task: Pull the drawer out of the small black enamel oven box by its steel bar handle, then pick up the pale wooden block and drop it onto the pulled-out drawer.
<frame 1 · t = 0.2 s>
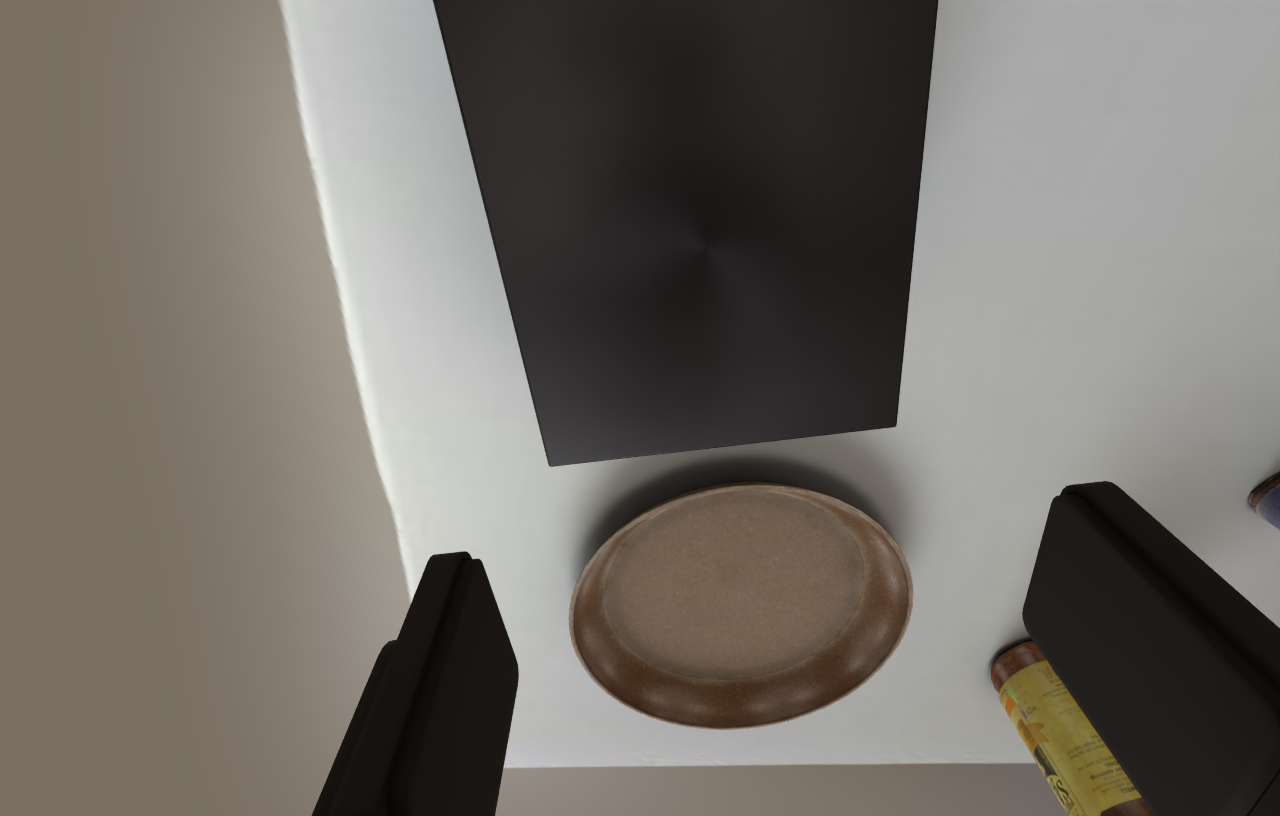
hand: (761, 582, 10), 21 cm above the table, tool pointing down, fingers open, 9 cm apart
sauce bottle: (1029, 661, 44), on the table
oven box: (681, 188, 27), on the table
plant saucer: (732, 583, 40), on the table
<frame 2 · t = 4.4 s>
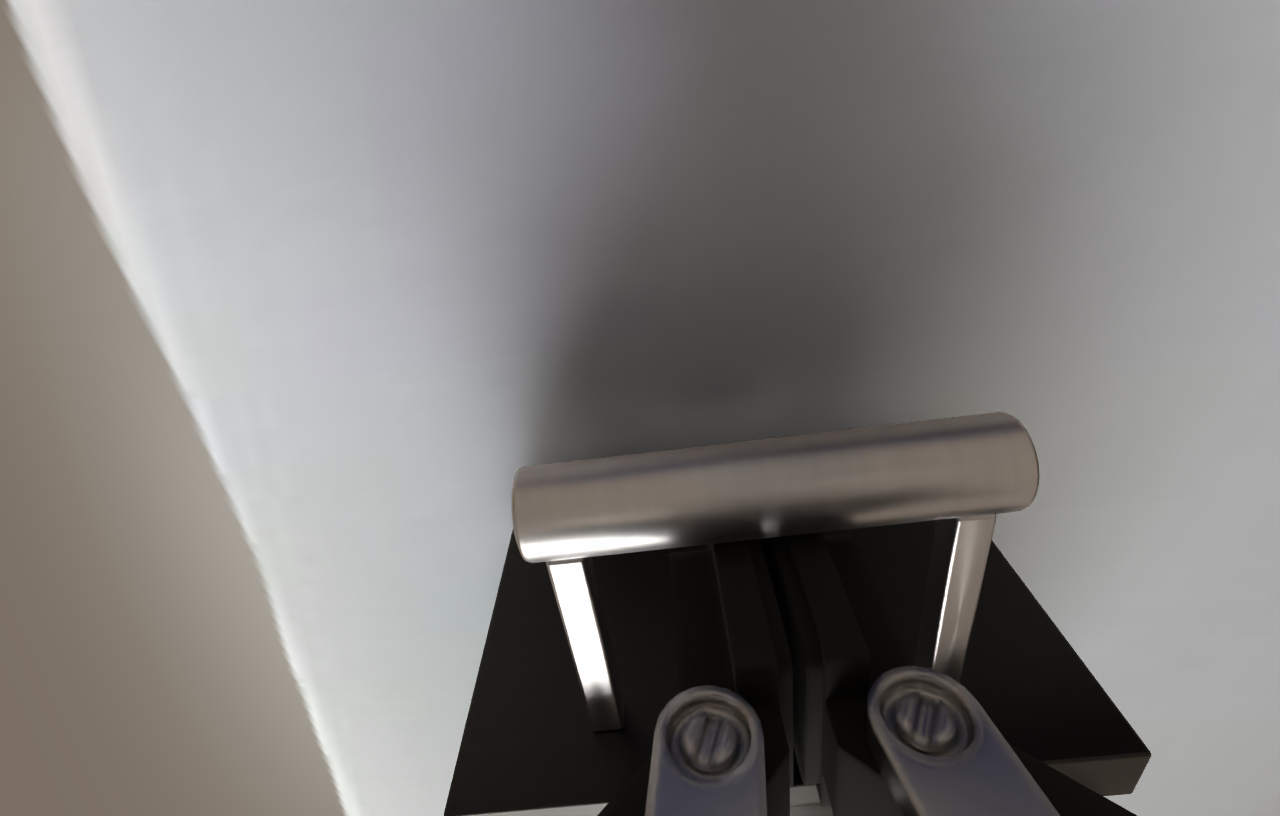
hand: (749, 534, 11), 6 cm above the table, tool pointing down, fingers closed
drawer: (753, 708, 15), point 5 cm above the table, slide at 2.0 cm
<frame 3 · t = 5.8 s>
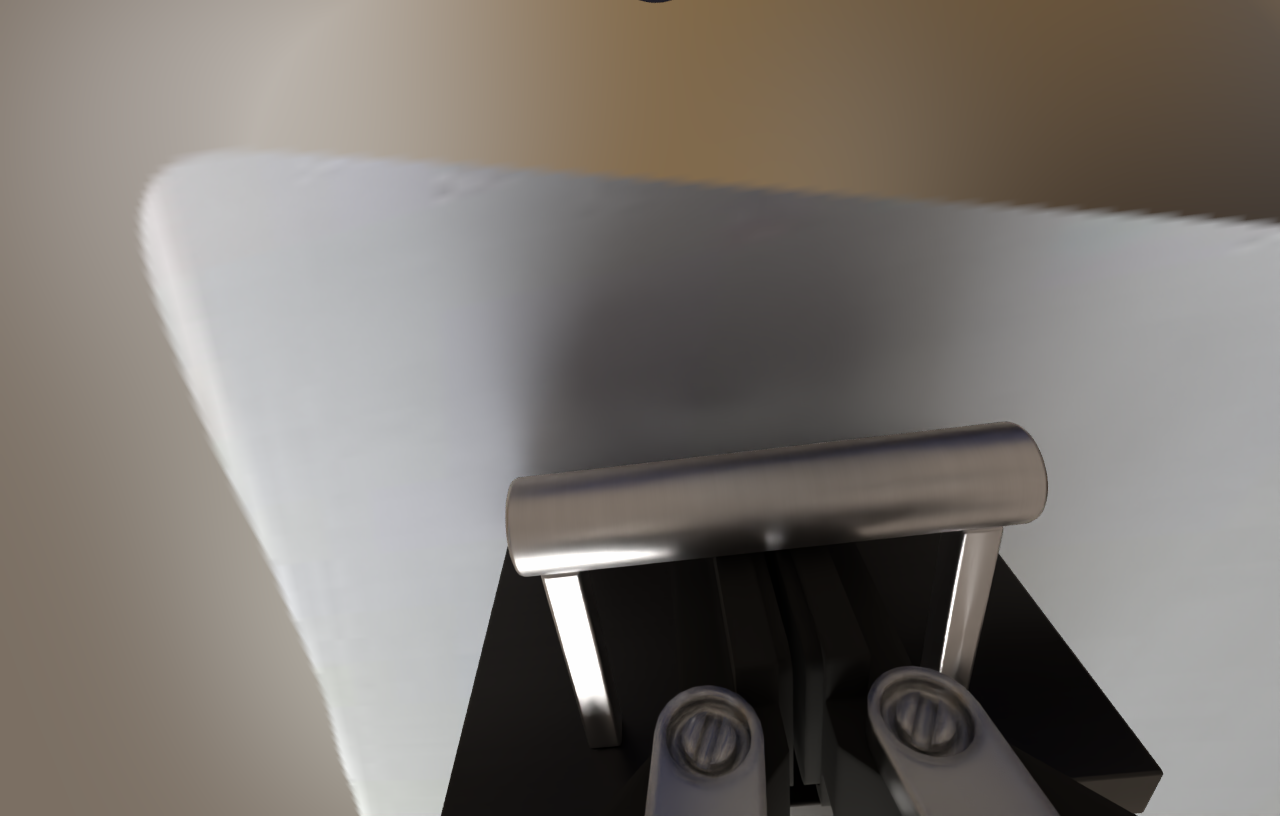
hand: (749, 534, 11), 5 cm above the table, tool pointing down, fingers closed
drawer: (753, 722, 15), point 5 cm above the table, slide at 7.7 cm, touching gripper
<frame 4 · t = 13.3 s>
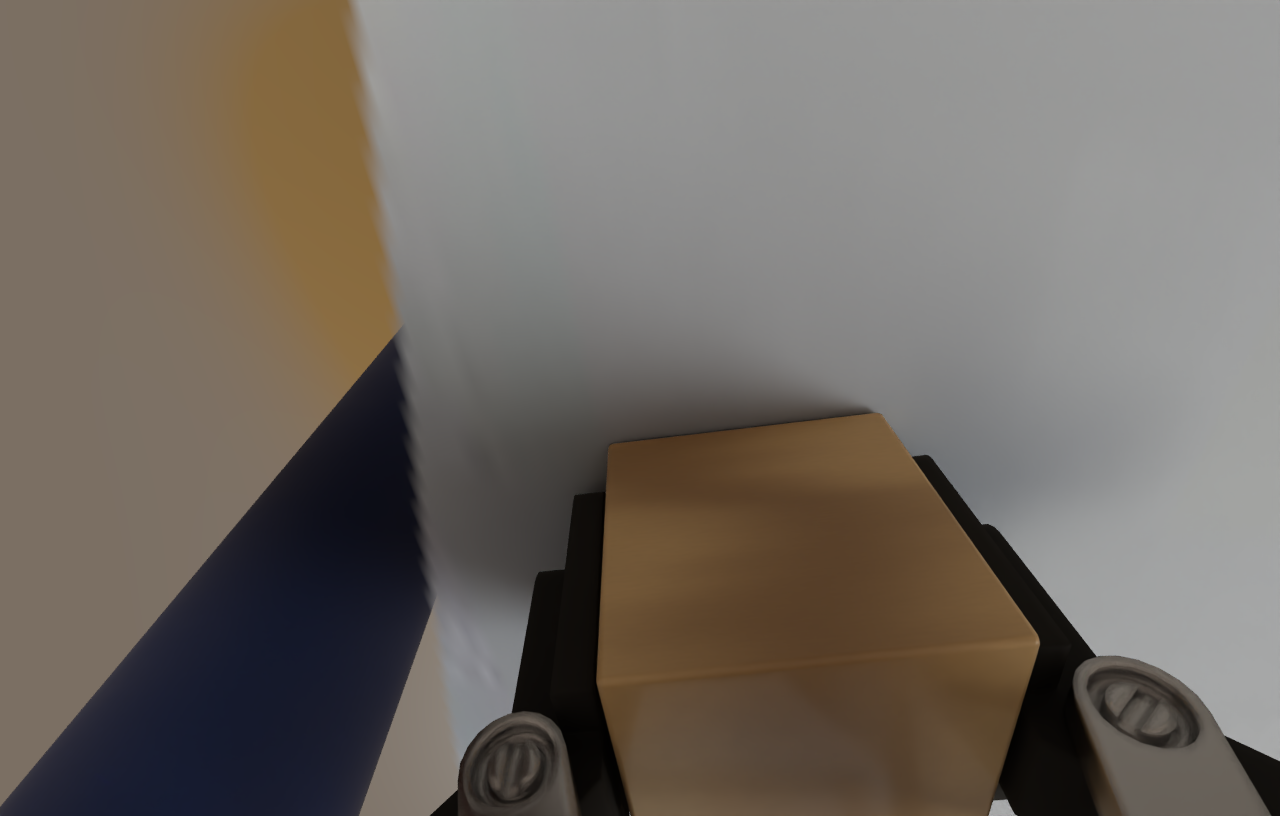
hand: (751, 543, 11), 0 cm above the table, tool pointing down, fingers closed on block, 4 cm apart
block: (748, 529, 11), on the table, touching gripper
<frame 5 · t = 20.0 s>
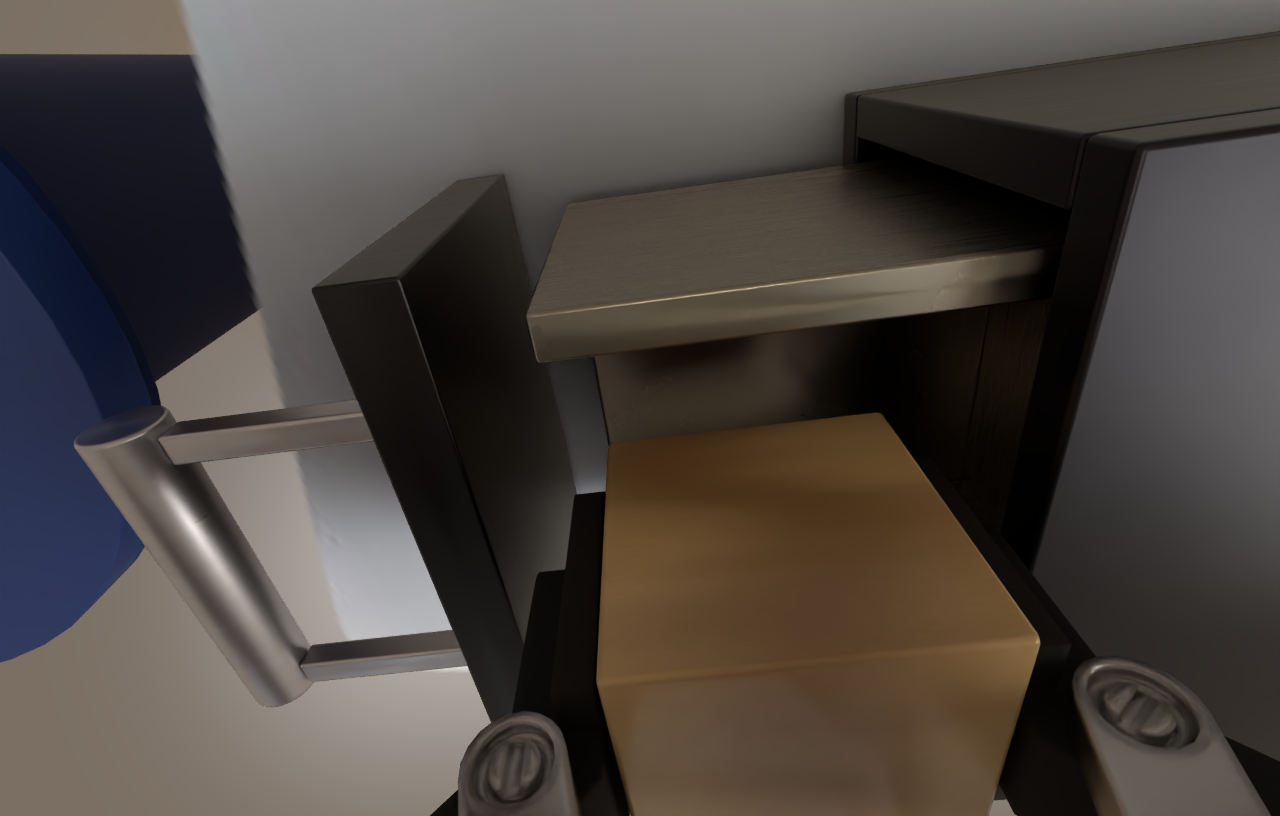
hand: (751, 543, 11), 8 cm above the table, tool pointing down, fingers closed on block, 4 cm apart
drawer: (652, 450, 14), point 5 cm above the table, slide at 8.4 cm
block: (748, 529, 11), point 8 cm above the table, touching gripper
oven box: (1092, 302, 18), on the table
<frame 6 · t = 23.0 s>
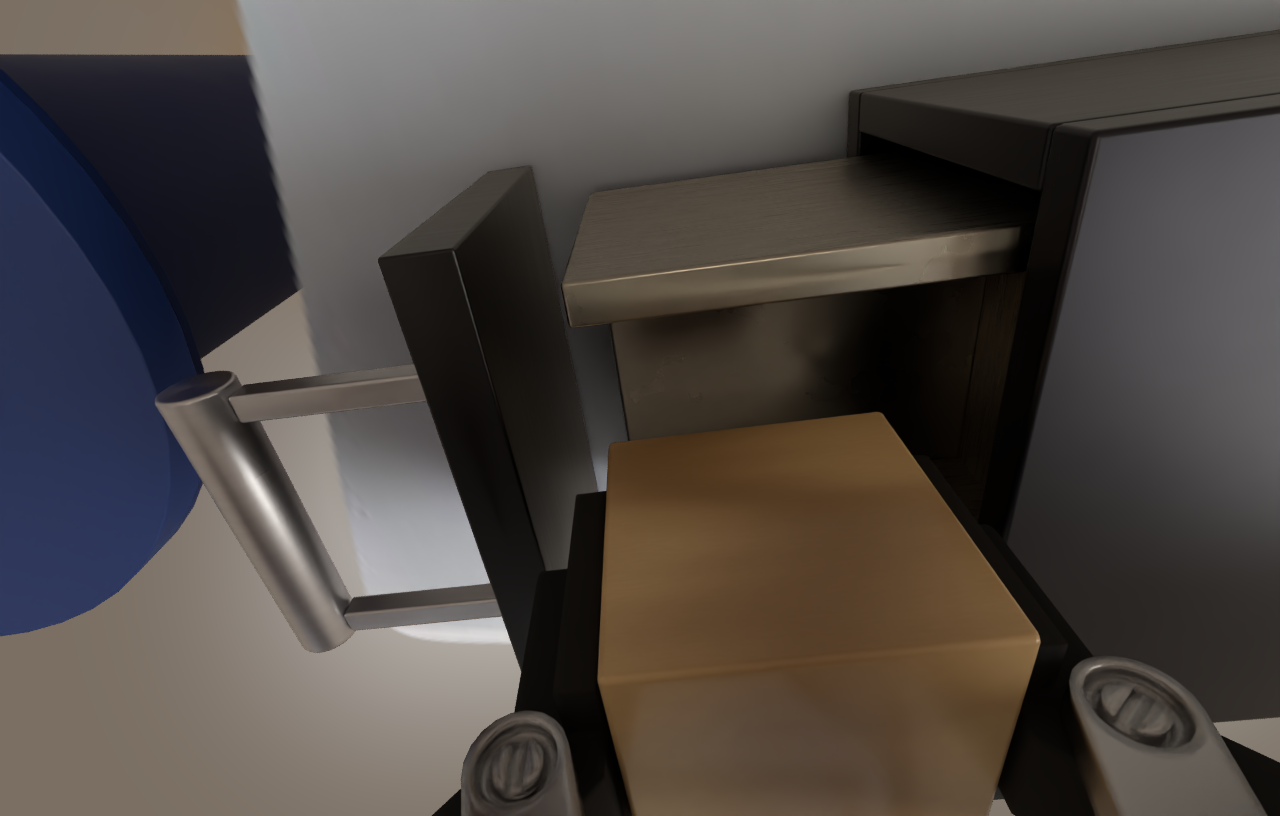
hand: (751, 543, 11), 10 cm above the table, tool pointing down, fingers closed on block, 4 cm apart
drawer: (667, 421, 15), point 5 cm above the table, slide at 8.4 cm
block: (748, 528, 11), point 9 cm above the table, touching gripper
oven box: (1084, 289, 19), on the table
when the fingers open (11 cm above the table, at t = 33.1 s): block drops 9 cm, resting on drawer.
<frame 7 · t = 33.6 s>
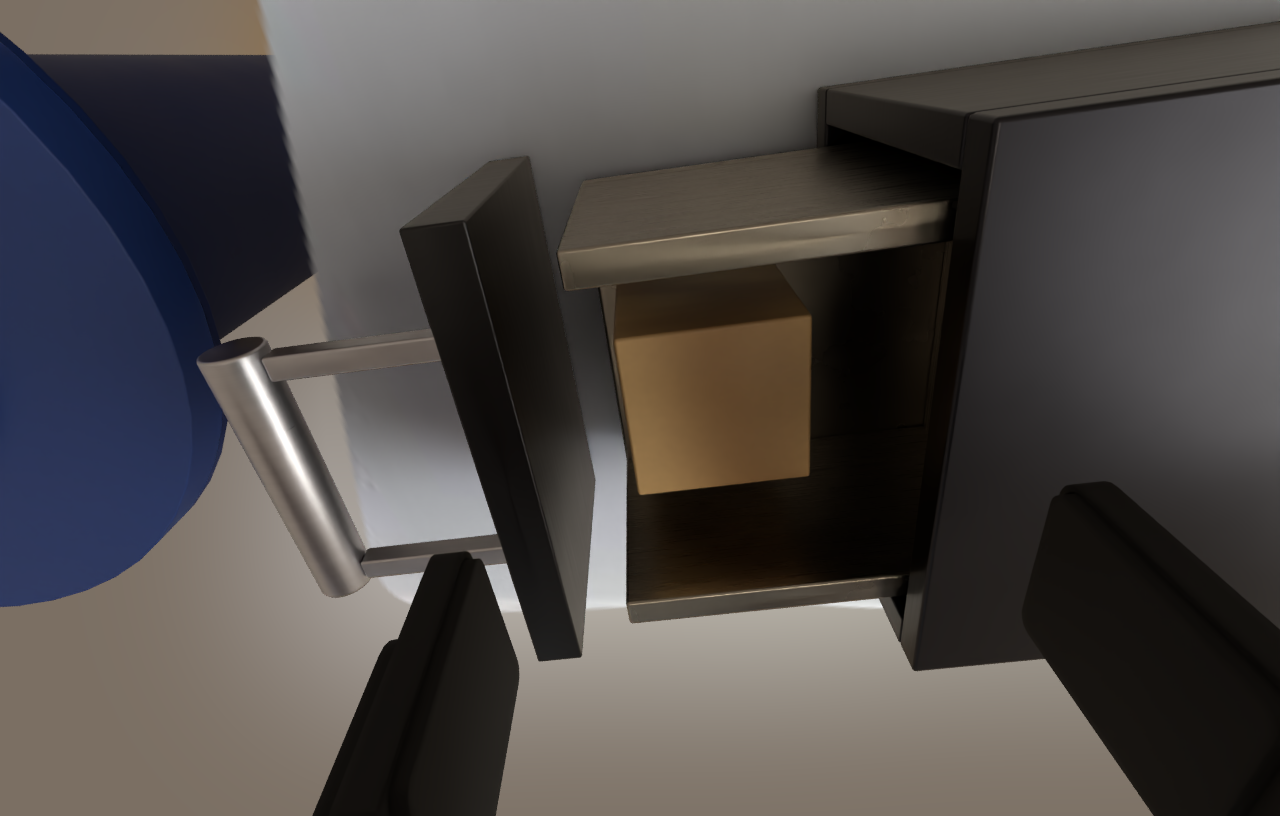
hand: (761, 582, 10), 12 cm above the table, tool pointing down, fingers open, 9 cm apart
drawer: (653, 386, 17), point 5 cm above the table, slide at 8.4 cm, touching block
block: (699, 338, 19), point 2 cm above the table, touching drawer
oven box: (1037, 270, 20), on the table
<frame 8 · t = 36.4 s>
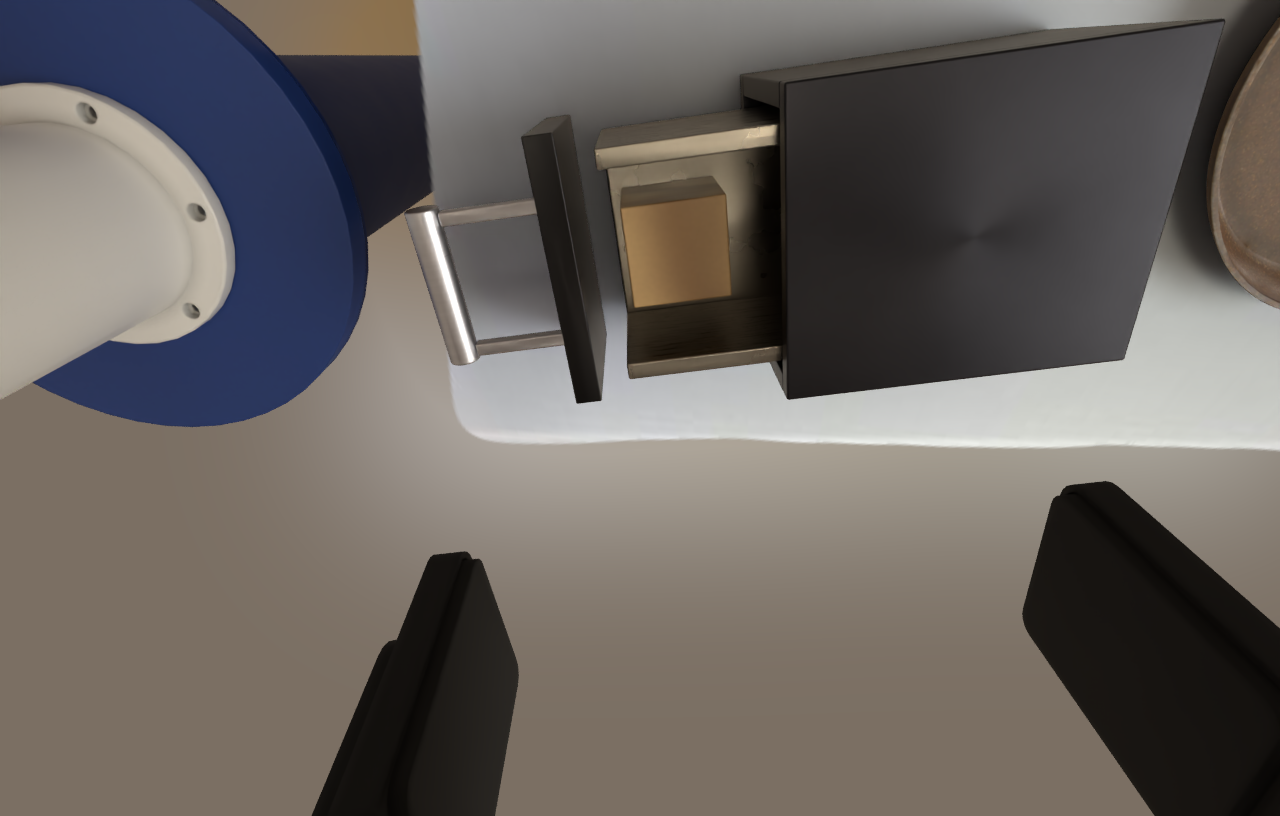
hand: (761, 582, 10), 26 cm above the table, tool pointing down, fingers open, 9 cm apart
drawer: (642, 247, 29), point 5 cm above the table, slide at 8.4 cm, touching block
block: (671, 228, 31), point 2 cm above the table, touching drawer
oven box: (884, 190, 32), on the table
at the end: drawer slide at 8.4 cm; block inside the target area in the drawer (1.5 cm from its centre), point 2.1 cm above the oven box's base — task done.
